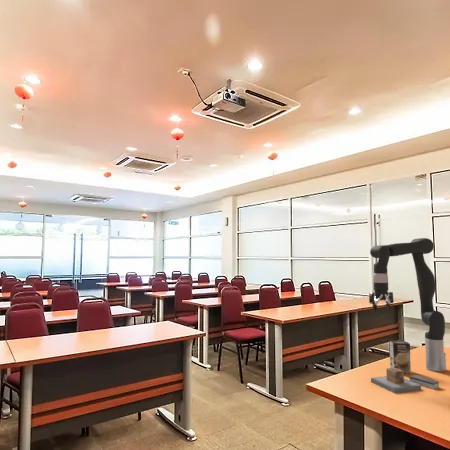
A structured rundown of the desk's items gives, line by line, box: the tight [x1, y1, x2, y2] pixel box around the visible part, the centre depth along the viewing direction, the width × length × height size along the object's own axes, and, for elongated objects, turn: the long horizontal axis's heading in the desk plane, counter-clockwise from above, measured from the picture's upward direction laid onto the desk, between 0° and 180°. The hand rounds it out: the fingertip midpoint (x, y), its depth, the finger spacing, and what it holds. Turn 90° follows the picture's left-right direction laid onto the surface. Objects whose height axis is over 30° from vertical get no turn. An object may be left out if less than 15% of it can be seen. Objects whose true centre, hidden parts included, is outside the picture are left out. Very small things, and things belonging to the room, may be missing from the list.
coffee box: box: [389, 340, 412, 374], centre depth 206 cm, size 9×6×16 cm
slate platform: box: [370, 375, 422, 394], centre depth 182 cm, size 16×16×2 cm
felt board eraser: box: [409, 374, 440, 390], centre depth 184 cm, size 12×5×3 cm, turn 32°
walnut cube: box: [386, 367, 405, 384], centre depth 182 cm, size 6×6×6 cm
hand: (381, 311), depth 201 cm, fingers open, 8 cm apart
